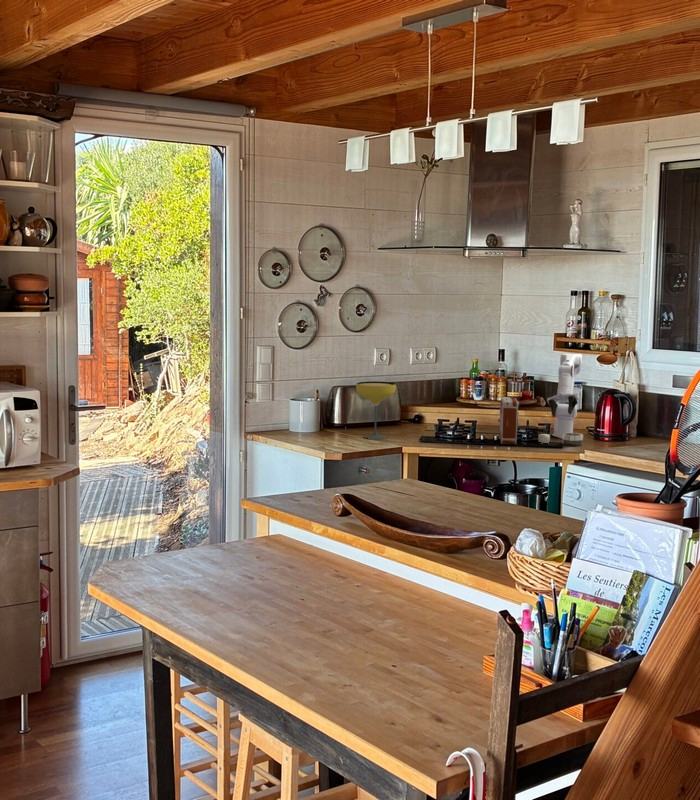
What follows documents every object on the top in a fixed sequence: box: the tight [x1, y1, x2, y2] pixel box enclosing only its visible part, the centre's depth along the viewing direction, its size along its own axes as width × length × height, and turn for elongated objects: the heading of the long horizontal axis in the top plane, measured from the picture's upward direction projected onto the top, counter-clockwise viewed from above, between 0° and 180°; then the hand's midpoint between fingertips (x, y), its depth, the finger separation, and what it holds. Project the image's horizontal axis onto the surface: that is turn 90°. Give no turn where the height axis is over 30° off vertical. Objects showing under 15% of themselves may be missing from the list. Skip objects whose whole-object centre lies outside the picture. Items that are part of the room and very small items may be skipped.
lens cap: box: [538, 433, 551, 444], centre depth 453 cm, size 5×5×4 cm
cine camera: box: [497, 396, 520, 446], centre depth 454 cm, size 9×19×20 cm, turn 174°
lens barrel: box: [561, 432, 584, 447], centre depth 449 cm, size 9×9×4 cm
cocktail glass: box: [355, 380, 397, 440], centre depth 460 cm, size 18×18×25 cm
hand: (561, 414), depth 446 cm, fingers open, 7 cm apart
